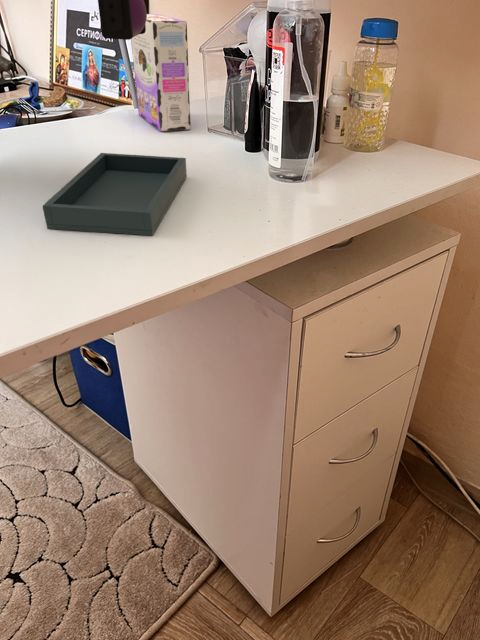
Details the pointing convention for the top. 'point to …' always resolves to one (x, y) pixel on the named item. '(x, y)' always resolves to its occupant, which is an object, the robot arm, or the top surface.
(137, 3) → the grape
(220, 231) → the top surface
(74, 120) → the top surface
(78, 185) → the tray
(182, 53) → the candy box
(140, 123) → the top surface
